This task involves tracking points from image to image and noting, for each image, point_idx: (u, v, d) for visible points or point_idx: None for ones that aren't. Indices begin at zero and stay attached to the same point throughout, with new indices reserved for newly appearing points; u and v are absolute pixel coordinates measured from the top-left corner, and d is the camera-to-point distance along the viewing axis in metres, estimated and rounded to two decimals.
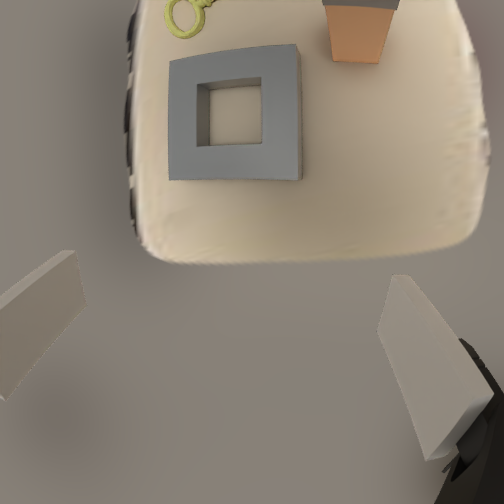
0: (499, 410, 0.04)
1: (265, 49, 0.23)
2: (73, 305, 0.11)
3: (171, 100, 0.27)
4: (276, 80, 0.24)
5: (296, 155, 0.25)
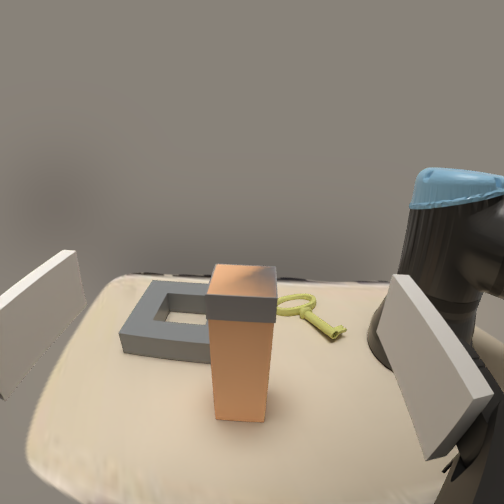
0: (499, 410, 0.04)
1: None
2: (73, 305, 0.11)
3: (207, 285, 0.43)
4: (199, 332, 0.33)
5: (135, 334, 0.31)
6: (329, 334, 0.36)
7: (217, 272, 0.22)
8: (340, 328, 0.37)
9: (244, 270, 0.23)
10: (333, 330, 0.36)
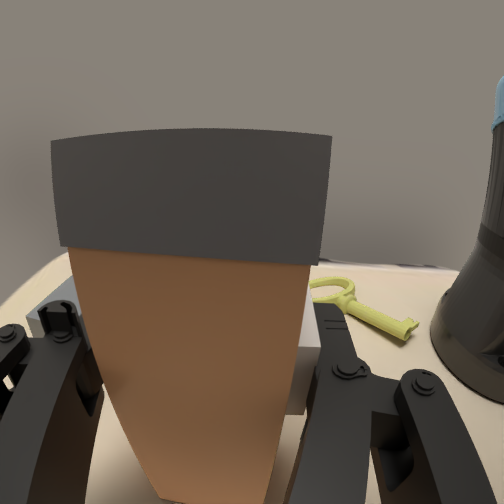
0: (322, 371, 0.06)
1: None
2: None
3: None
4: None
5: None
6: (399, 334, 0.20)
7: None
8: (409, 322, 0.21)
9: None
10: (405, 326, 0.20)
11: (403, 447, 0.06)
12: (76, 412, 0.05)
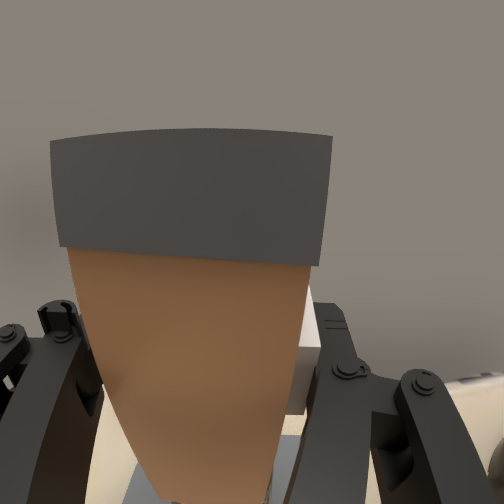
0: (322, 371, 0.06)
1: None
2: None
3: None
4: None
5: None
6: None
7: None
8: None
9: None
10: None
11: (403, 447, 0.06)
12: (76, 412, 0.05)
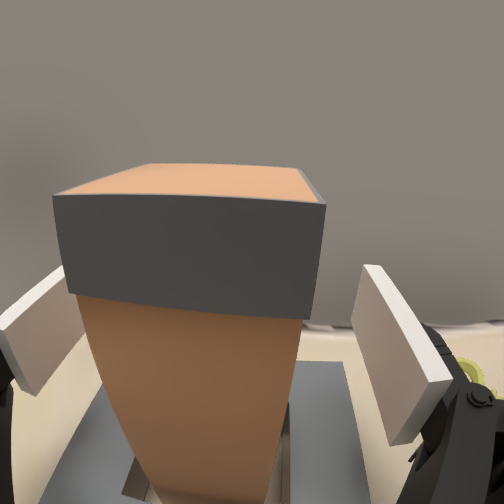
0: (458, 398, 0.05)
1: None
2: None
3: None
4: None
5: None
6: None
7: (137, 169, 0.07)
8: None
9: (213, 167, 0.08)
10: None
11: (500, 460, 0.04)
12: None
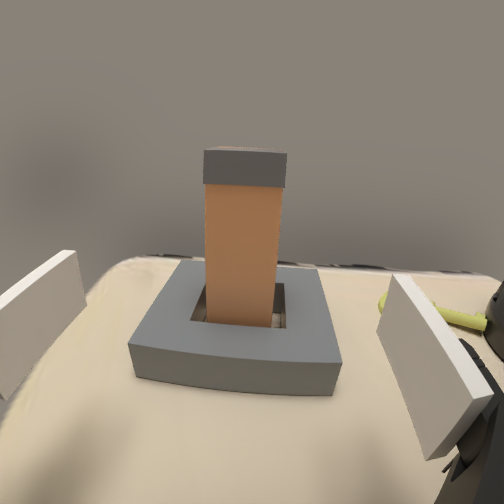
0: (499, 410, 0.04)
1: (329, 334, 0.19)
2: (73, 305, 0.11)
3: None
4: (279, 341, 0.18)
5: (160, 347, 0.17)
6: (481, 326, 0.22)
7: (219, 147, 0.19)
8: (480, 315, 0.23)
9: (249, 148, 0.20)
10: (484, 320, 0.22)
11: None
12: None
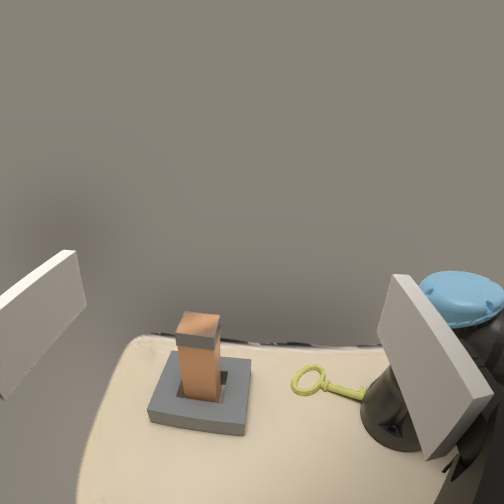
0: (499, 410, 0.04)
1: (243, 407, 0.37)
2: (73, 305, 0.11)
3: (222, 358, 0.46)
4: (217, 410, 0.36)
5: (162, 411, 0.34)
6: (360, 398, 0.40)
7: (184, 318, 0.37)
8: (362, 389, 0.42)
9: (200, 317, 0.37)
10: (362, 394, 0.40)
11: None
12: None
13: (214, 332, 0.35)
